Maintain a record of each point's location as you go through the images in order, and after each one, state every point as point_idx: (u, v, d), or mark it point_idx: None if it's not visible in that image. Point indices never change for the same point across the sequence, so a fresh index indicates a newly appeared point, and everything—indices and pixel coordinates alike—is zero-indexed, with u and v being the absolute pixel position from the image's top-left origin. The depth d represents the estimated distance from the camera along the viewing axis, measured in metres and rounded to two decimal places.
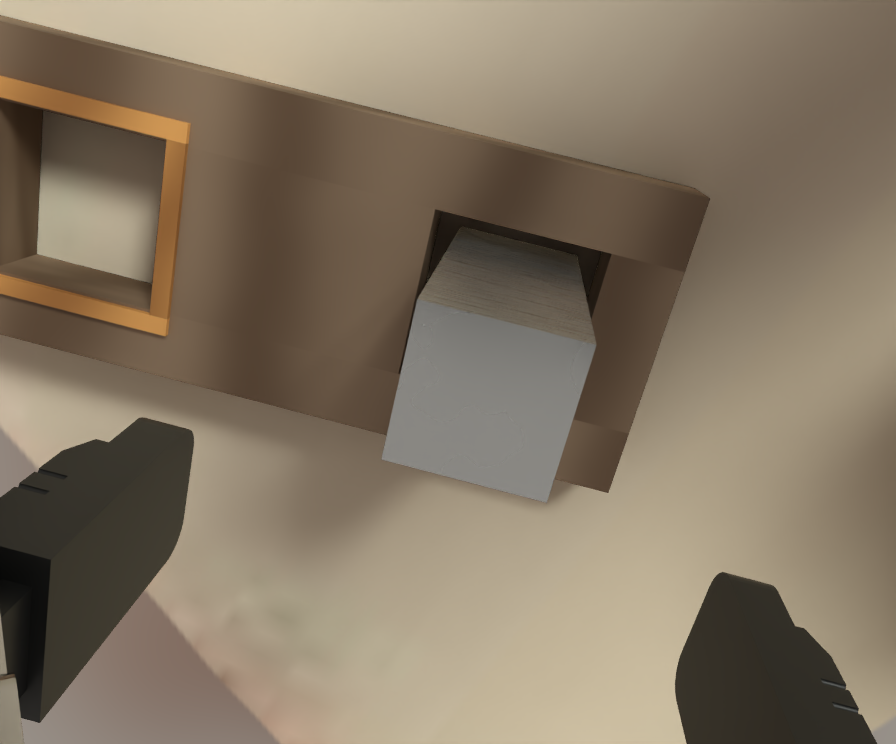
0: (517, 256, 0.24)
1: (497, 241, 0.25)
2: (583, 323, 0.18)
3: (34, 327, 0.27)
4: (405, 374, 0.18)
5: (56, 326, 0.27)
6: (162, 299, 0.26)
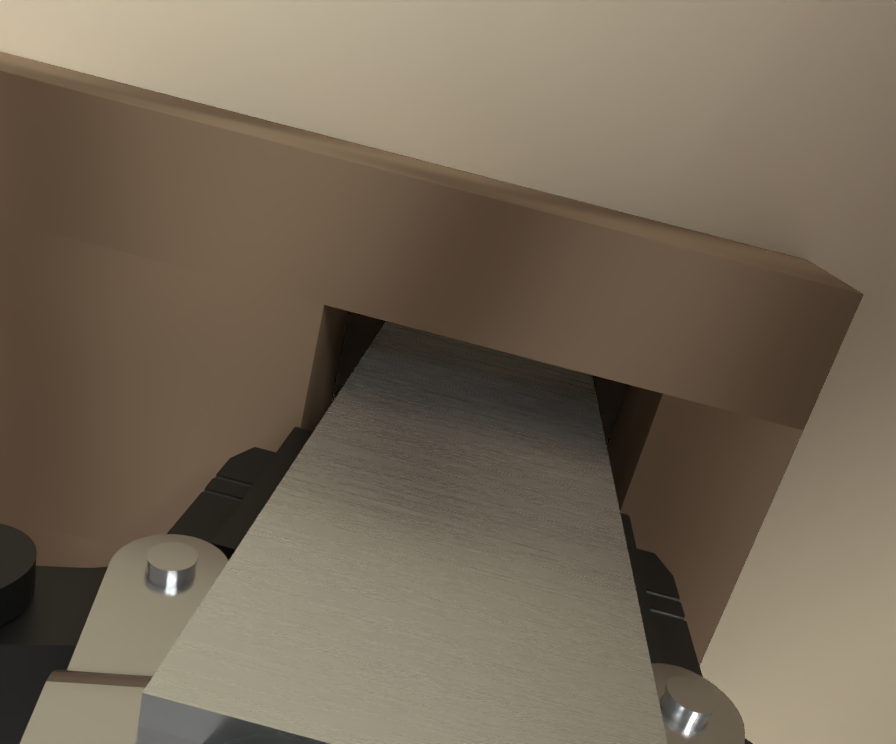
0: (481, 395, 0.12)
1: (448, 353, 0.14)
2: (633, 683, 0.07)
3: None
4: None
5: None
6: None
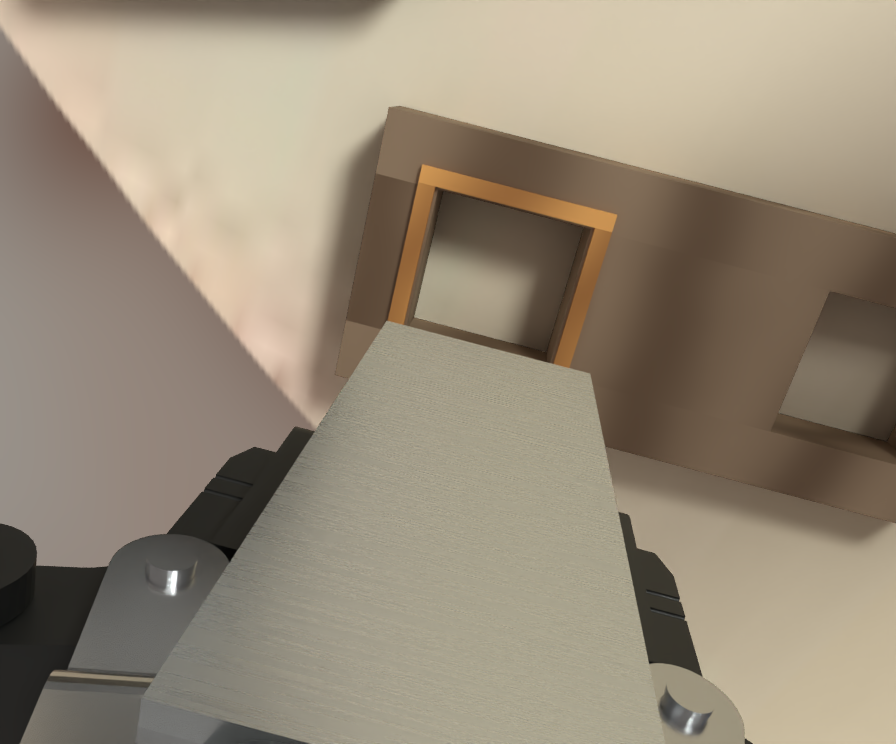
0: (480, 398, 0.12)
1: (447, 355, 0.14)
2: (631, 687, 0.07)
3: None
4: None
5: None
6: (564, 364, 0.29)
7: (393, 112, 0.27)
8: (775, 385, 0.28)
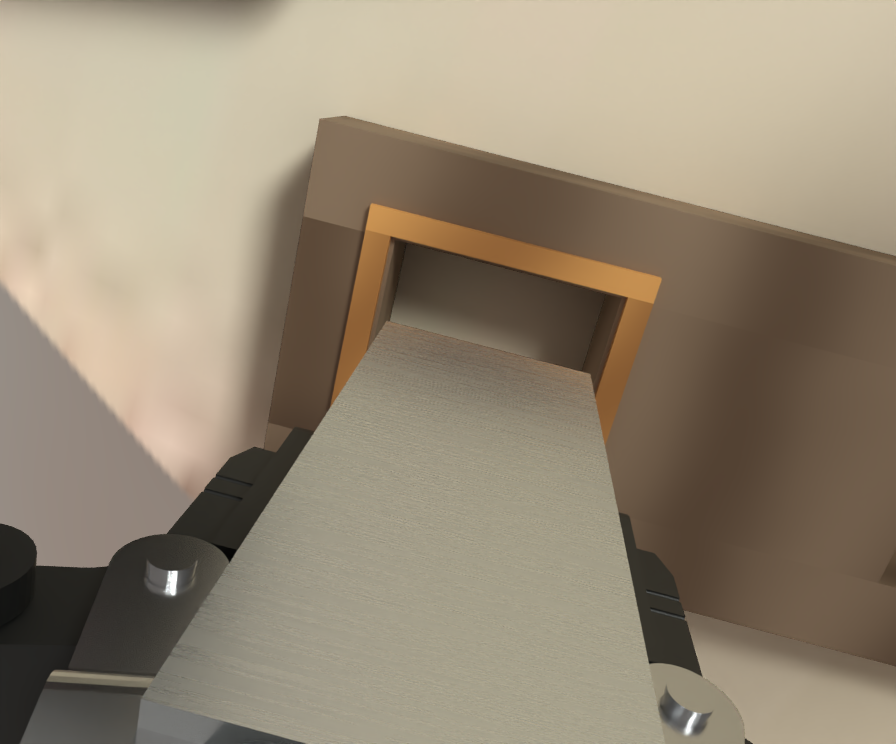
0: (480, 398, 0.12)
1: (447, 356, 0.14)
2: (631, 688, 0.07)
3: None
4: None
5: None
6: None
7: (326, 126, 0.18)
8: (888, 520, 0.20)
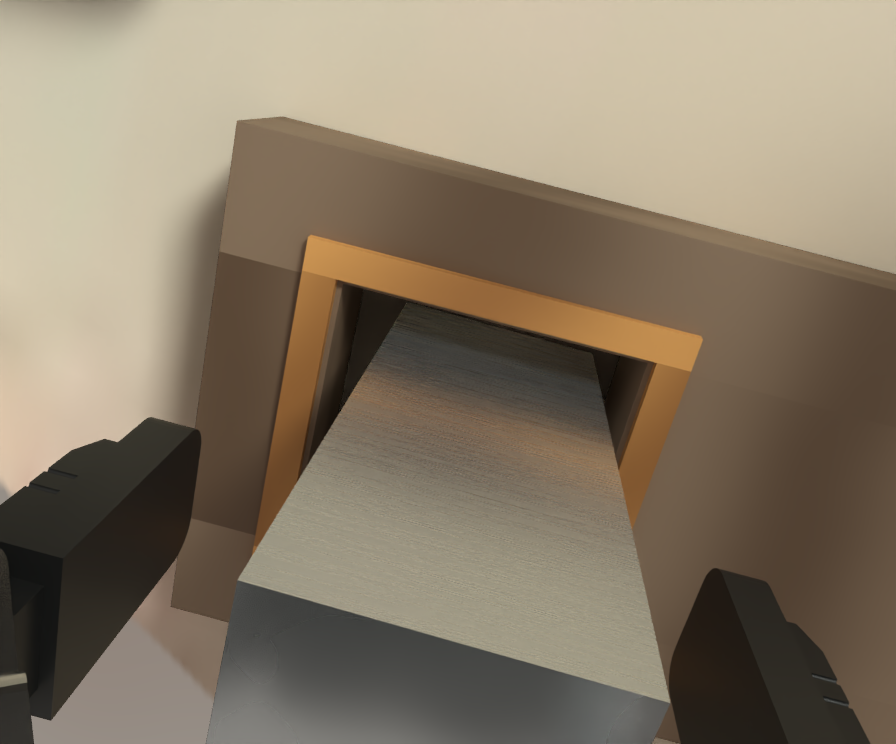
0: (494, 370, 0.14)
1: (463, 333, 0.15)
2: (628, 595, 0.08)
3: None
4: (220, 730, 0.08)
5: None
6: None
7: (247, 131, 0.13)
8: None
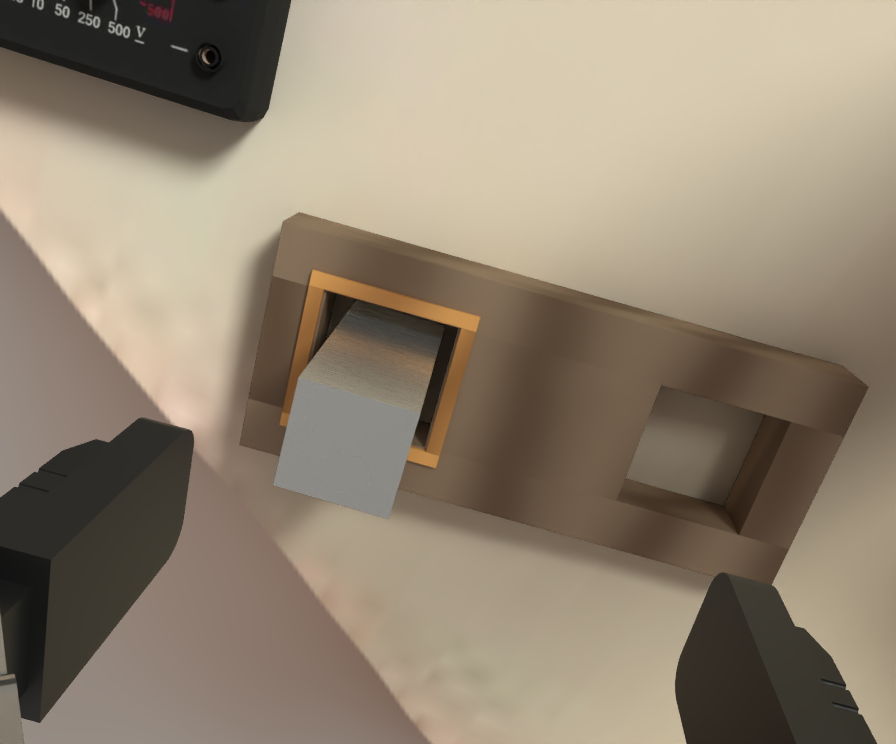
0: (393, 330, 0.32)
1: (382, 315, 0.33)
2: (419, 394, 0.26)
3: None
4: (290, 427, 0.25)
5: None
6: (438, 441, 0.33)
7: (287, 225, 0.31)
8: (619, 462, 0.33)
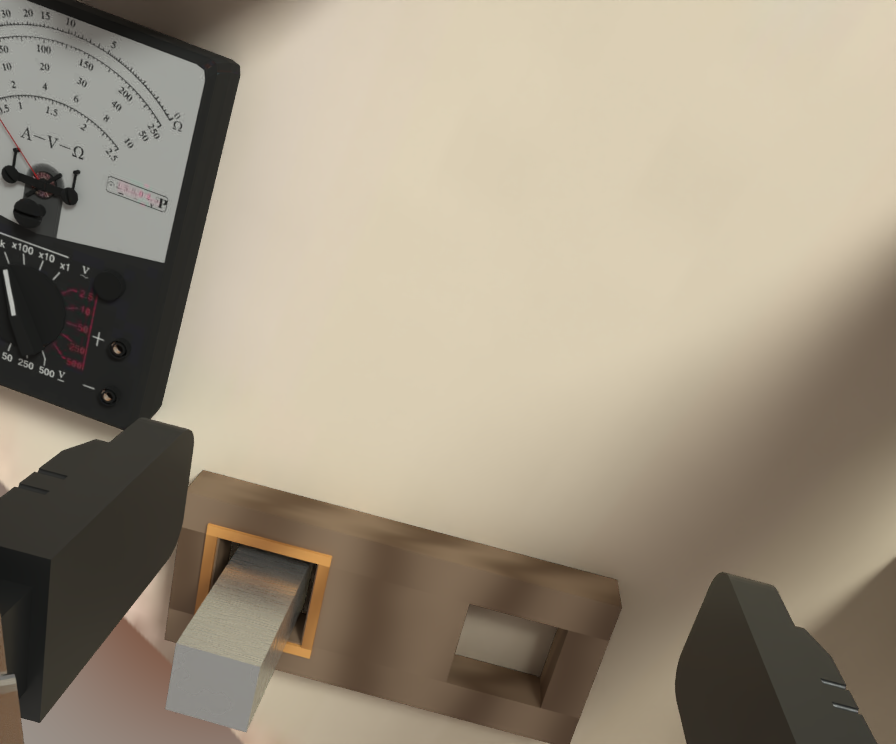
0: (269, 564, 0.43)
1: None
2: (266, 644, 0.37)
3: None
4: (173, 673, 0.36)
5: None
6: (309, 640, 0.44)
7: (187, 493, 0.42)
8: (445, 656, 0.44)
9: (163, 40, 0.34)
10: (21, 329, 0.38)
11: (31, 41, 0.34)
